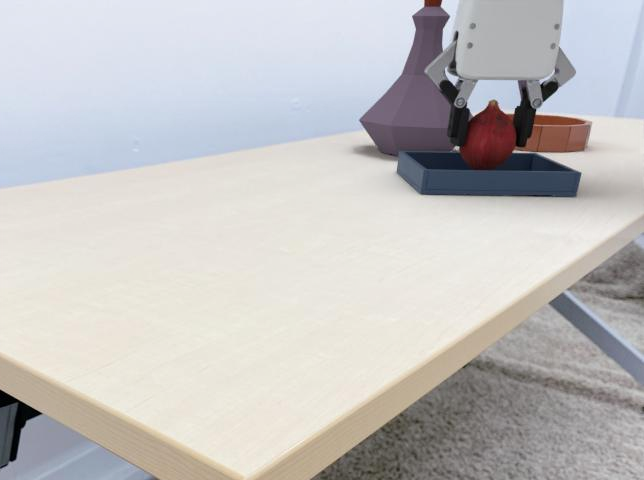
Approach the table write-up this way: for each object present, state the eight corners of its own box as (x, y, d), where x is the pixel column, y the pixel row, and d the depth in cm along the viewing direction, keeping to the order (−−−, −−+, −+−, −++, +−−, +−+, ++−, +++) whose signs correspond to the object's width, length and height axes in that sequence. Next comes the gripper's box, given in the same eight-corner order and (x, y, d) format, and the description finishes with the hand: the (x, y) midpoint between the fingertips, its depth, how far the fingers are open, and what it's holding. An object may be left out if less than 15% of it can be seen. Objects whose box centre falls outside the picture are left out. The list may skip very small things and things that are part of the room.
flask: (494, 151, 99) (521, -7, 91) (447, 167, 88) (474, -12, 80) (386, 139, 109) (402, -5, 101) (331, 152, 98) (345, -9, 89)
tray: (531, 174, 84) (536, 152, 83) (576, 196, 73) (581, 172, 72) (396, 172, 85) (398, 150, 84) (420, 194, 74) (423, 170, 73)
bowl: (560, 137, 112) (565, 114, 111) (604, 152, 99) (610, 126, 97) (467, 135, 113) (470, 113, 111) (498, 151, 99) (503, 125, 98)
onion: (518, 180, 76) (533, 103, 73) (464, 180, 76) (477, 102, 73) (497, 170, 82) (510, 97, 78) (447, 169, 82) (458, 97, 78)
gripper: (589, -38, 73) (552, 141, 81) (421, -39, 74) (400, 139, 81) (626, -44, 66) (582, 152, 74) (440, -45, 67) (415, 149, 74)
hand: (487, 143), depth 77 cm, fingers closed on onion, 5 cm apart
